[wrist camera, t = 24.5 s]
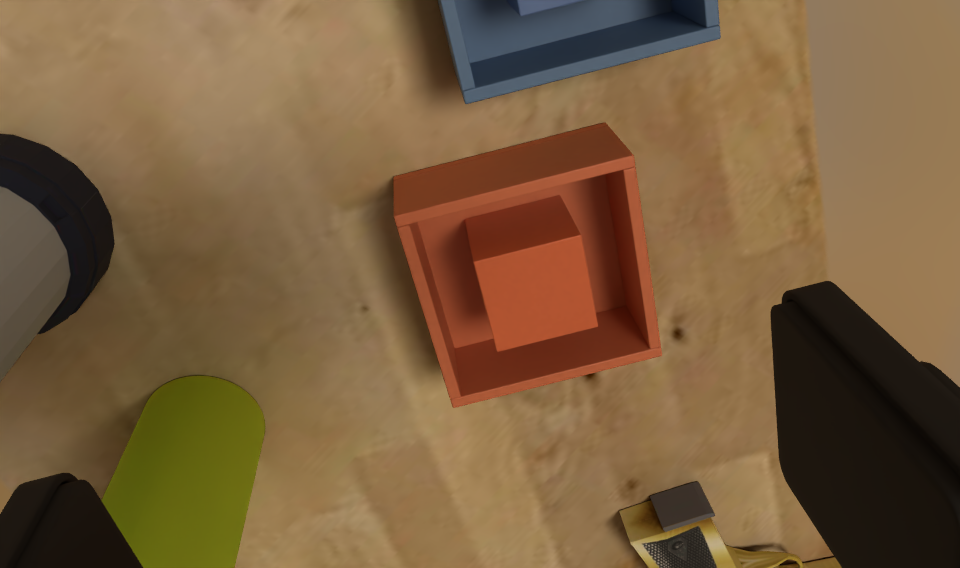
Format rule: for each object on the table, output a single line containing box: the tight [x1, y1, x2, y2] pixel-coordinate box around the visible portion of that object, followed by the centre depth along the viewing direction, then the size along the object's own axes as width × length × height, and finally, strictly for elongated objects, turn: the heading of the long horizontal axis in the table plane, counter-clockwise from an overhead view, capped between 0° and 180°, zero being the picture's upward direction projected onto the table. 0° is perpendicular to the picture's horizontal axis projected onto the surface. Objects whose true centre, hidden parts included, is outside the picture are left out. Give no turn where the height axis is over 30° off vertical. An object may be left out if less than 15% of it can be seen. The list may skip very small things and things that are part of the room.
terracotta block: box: [464, 195, 598, 352], centre depth 34 cm, size 4×4×4 cm
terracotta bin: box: [393, 123, 662, 408], centre depth 34 cm, size 10×10×4 cm
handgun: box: [619, 482, 842, 568], centre depth 46 cm, size 2×19×12 cm
